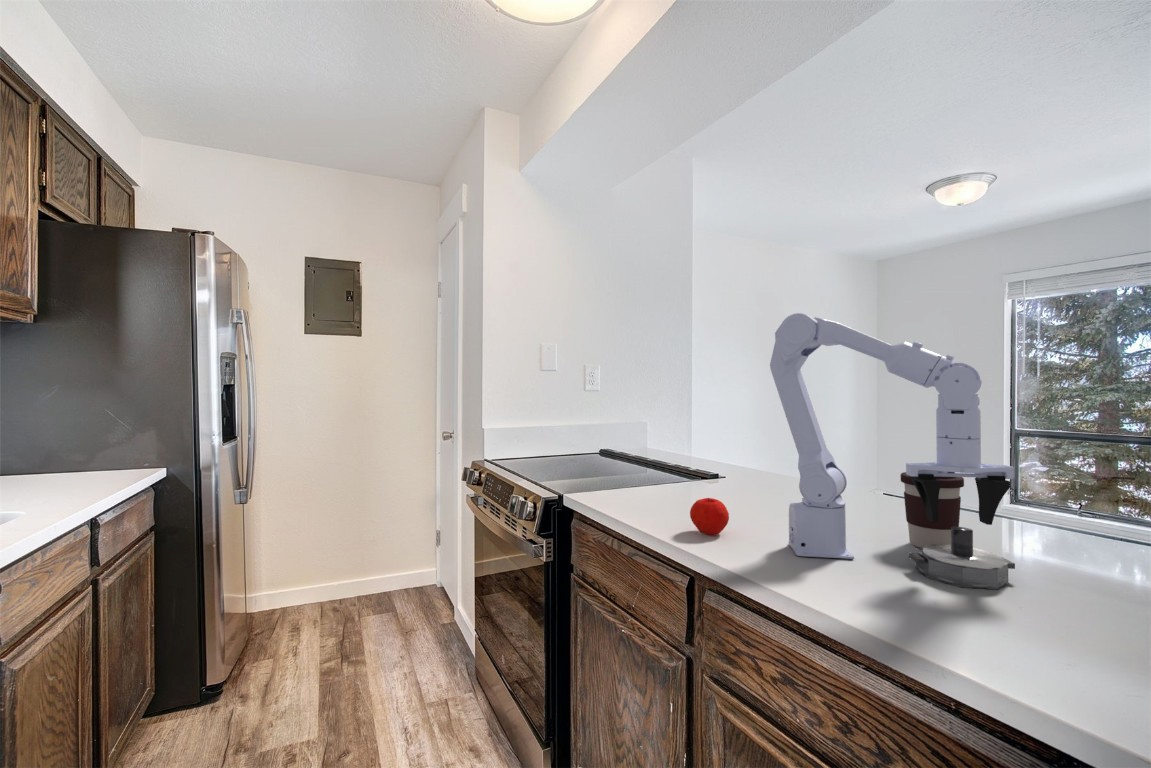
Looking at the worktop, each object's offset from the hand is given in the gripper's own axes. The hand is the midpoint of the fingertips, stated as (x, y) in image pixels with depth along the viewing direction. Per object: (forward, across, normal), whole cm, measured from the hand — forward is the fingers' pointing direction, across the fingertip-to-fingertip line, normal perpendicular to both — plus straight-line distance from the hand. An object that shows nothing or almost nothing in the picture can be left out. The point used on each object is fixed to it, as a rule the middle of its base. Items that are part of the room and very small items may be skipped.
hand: (958, 522), depth 82 cm
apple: (+9, -38, +18) cm, 43 cm away
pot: (+8, 0, 0) cm, 9 cm away
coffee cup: (+9, +3, +16) cm, 18 cm away
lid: (+6, 0, -1) cm, 6 cm away
